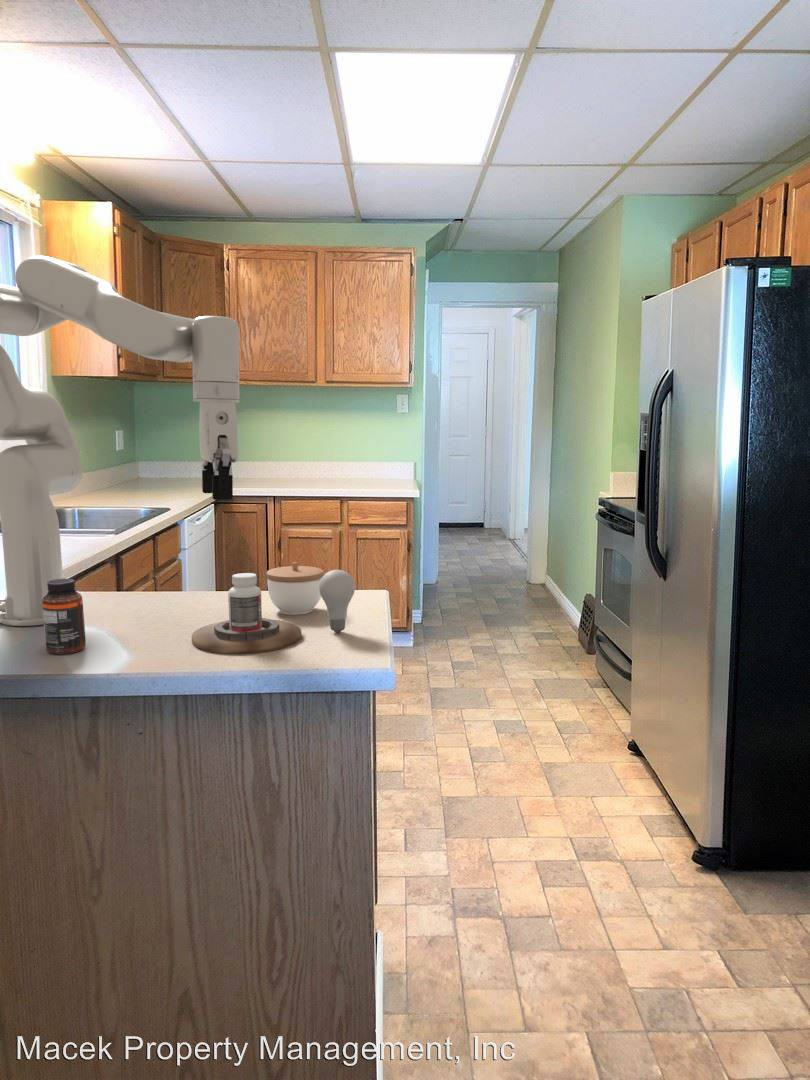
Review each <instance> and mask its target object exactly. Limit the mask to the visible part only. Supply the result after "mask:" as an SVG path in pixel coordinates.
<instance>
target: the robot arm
mask: <svg viewBox="0 0 810 1080" xmlns="http://www.w3.org/2000/svg"><path fill="white" fill-rule="evenodd" d="M14 280H15V285H16V286H10V285H7V284H2V283H0V334H1V335H2V334H3V335H11V336H17V337H28V336H33V335H36V334H40V333H42V332H44V331H46V330H48V329H50V328H53V327H55V326H57V325H59V324H61V323H63V322H65V321H68V320H69V322H70V321H71V322H72V323H75V324H77V325H80V326H82V327H84V328H86V329H88V330H89V331H90V330H91V331H92V332H93V333H94V334H95V335H98V336H99V337H101V338H102V339H103V340H105V341H108V342H109V343H111V344H114V345H115V346H118V347H120V348H122V349H124V350H126V351H129V352H131V353H134V354H136V355H139V356H141V357H144V358H147V359H150V360H159V361H167V362H173V363H175V362H176V363H190V362H192V402H195V403H196V402H197V403H199V420H198V421H199V422H198V423H199V429H198V430H199V431H198V432H199V453H200V457H201V459H202V470H201V475H202V476H201V477H202V478H201V481H202V482H201V483H202V485H201V489H202V490H201V491H202V493H203V494H212V499H213V500H215V501H221V500H222V501H226V500H227V501H230V500H233V498H234V494H233V486H234V485H233V483H234V481H233V476H234V475H233V467H232V463H233V464H235V463H237V462H238V460H239V439H238V421H237V419H238V418H237V409H236V404H239V403H240V326H239V323H238V322H237V320H235V319H234V318H232V317H227V316H219V315H203V316H198V317H196V318H190V317H184V316H180V315H175V314H171V313H167V312H161V311H158V310H155V309H152V308H149V307H148V306H144V305H142V304H139V303H137V302H135V301H133V300H131V299H128V298H125V297H124V296H122V295H121V294H119V293H118V290H117V288H116V286H114V284H113V283H111V282H109V281H107V280H104V279H101V278H100V277H97V276H95V275H92V274H90V273H89V272H88V271H87V270H86V269H85V268H83V267H81V266H80V265H78V264H75V263H73V262H72V263H71V262H69V261H64V260H61V259H58V258H54V257H51V256H45V255H33V256H31V257H28V258H26V259H24V260H23V261H21V262H20V264H18V267H17V268H16V271H15V276H14ZM64 411H65V410H64V409H63V407H62V406H61V404H60V402H59V401H58V400H57V399H56V398H55V396H53V394H52V393H50V392H48V391H46V390H44V389H40V388H36V387H25V386H23V384H22V383H21V381H20V379H19V377H18V374H17V372H16V369H15V365H14V364H13V361H12V359H11V357H10V355H9V354H8V352H6V350H5V348H4V347H3V346H2V345H1V344H0V441H24V442H25V443H26V444H20V445H14V446H11V447H10V446H9V447H7V448H5V449H4V450H2V451H0V528H1V529H0V530H1V536H2V537H1V539H2V540H1V541H2V550H3V551H2V552H3V563H4V574H5V575H4V577H5V588H6V589H5V591H6V593H4V597H0V612H1V613H0V624H3V625H4V626H12V627H32V626H33V627H34V626H44V618H43V605H42V600H43V597H44V596H46V595H47V593H48V586H47V583H48V582H49V581H51V580H56V579H64V578H63V577H64V576H63V562H62V547H61V533H60V523H59V516H58V512H57V510H56V508H55V506H54V503H53V502H52V499H51V496H54V495H60V494H65V493H68V492H71V491H73V490H74V489H76V488H77V487H78V486H79V484H80V483H81V481H82V478H83V473H84V468H83V467H84V466H83V460H82V458H81V454H80V451H79V448H78V446H77V443H76V440H75V438H74V434H73V432H72V429H71V426H70V424H69V422H68V419H67V417H66V414H65V412H64Z"/></svg>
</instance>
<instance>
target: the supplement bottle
mask: <svg viewBox="0 0 810 1080" xmlns="http://www.w3.org/2000/svg"><path fill="white" fill-rule="evenodd" d="M75 582H76V581H75V579H74V578H73V579H72V578H63V579H56V580H51V581H49V582H48V583H47V586H48V593H47V595H46V596H44V597H43V600H42V605H43V618H44V625H43V628H44V640H45V651H47V653H48V654H52V655H55V656H56V655H57V656H58V655H60V656H61V655H68V654H74V653H75V654H76V653H78V652H81V651H82V650H84V649H85V648H86V646H87V645H86V644H87V642H86V641H87V640H86V639H87V638H86V628H85V627H86V626H85V615H84V602H83V601H84V600H83V596H82V594H81V592H79V591H77V590H76V589H75V588H76V583H75Z"/></svg>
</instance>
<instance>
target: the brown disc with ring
mask: <svg viewBox="0 0 810 1080" xmlns="http://www.w3.org/2000/svg"><path fill="white" fill-rule="evenodd" d="M301 638H302V628H301V627H300V626H299V625H297V624H295V623H292V622H290V621H285V620H278V619H270V618H267V617H262V630H259V631H250V632H233V631H230V627H229V619H228V620H223V621H219V622H214V623H212V624H207V625H204V626H201V627H200V628H197V629H196V630H194V631H193V632H192V633H191V644H192V646H194V647H195V648H197V649H199V650H201V651H205V652H210V653H215V654H231V655H239V654H240V655H242V654H244V655H245V654H258V653H266V652H272V651H276V650H280V649H283V648H284V649H285V648H288V647H290V646H292V645H294V644H297V643H298V642H299V641H300V640H301Z"/></svg>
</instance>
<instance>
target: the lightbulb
mask: <svg viewBox="0 0 810 1080" xmlns="http://www.w3.org/2000/svg"><path fill="white" fill-rule="evenodd" d="M319 591H320V594H321V598H322V600H323V602H324V604H325V606H326V609H327V615H328V618H329V628H330V630H331V631H333V632H334V633H336V634H340V633H341V632H342V631H344V630H345V628H346V618H347V615H348V607H349V604H350V602H351V600H352V598H353V596H354V595H355V591H356V584H355V580H354V578H353V577H352V576H351V574H349V573H348V572H347V571H344V570H342V569H331V570H330V571H328V572H326V573H324V576H323V577H322V579H321V581H320V584H319Z"/></svg>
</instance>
